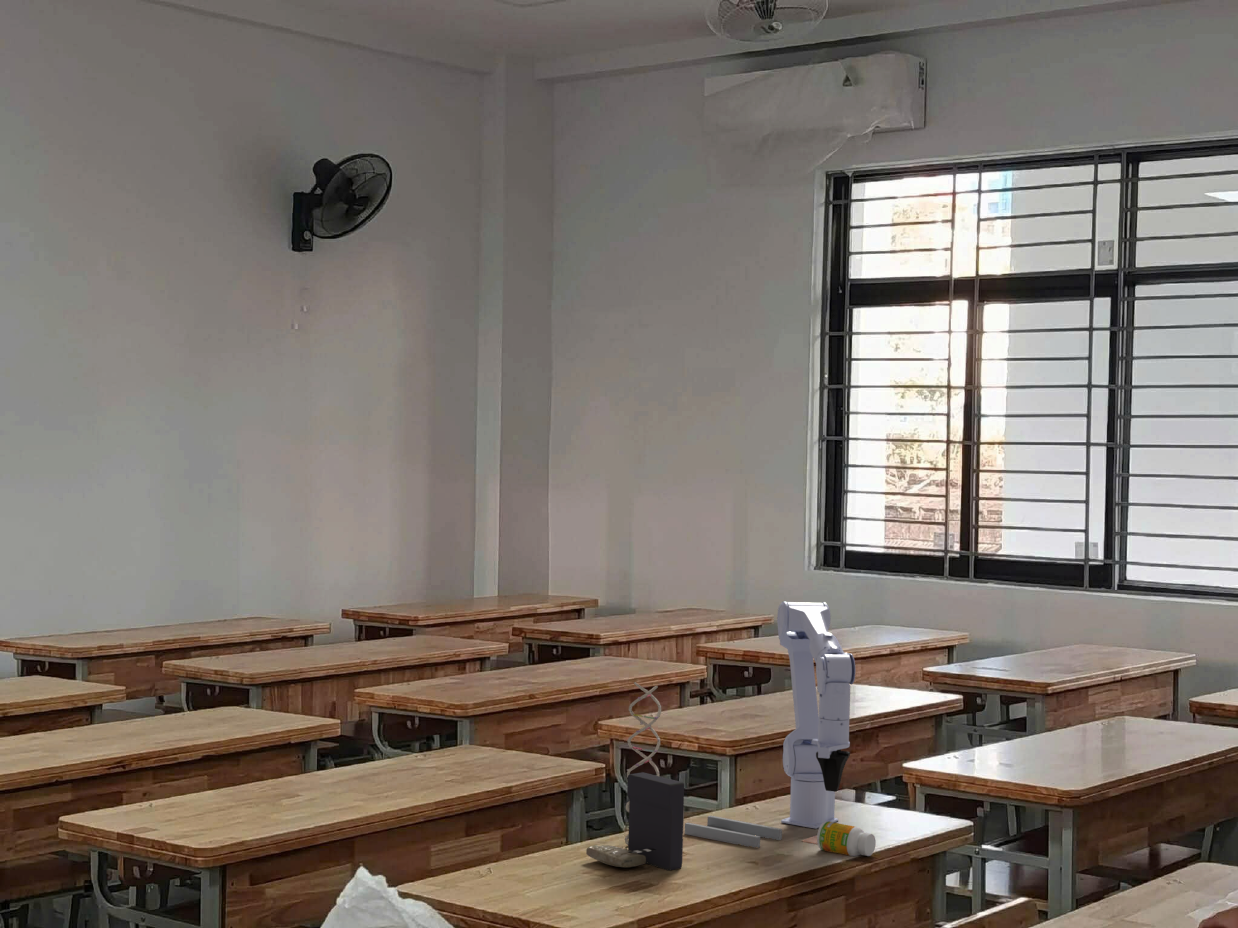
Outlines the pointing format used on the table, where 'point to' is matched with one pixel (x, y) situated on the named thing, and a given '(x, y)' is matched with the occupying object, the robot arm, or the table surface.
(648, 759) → the dna model
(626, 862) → the cuneiform tablet
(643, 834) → the black upright block
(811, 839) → the tile
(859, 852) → the supplement bottle
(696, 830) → the channel
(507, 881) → the table surface
